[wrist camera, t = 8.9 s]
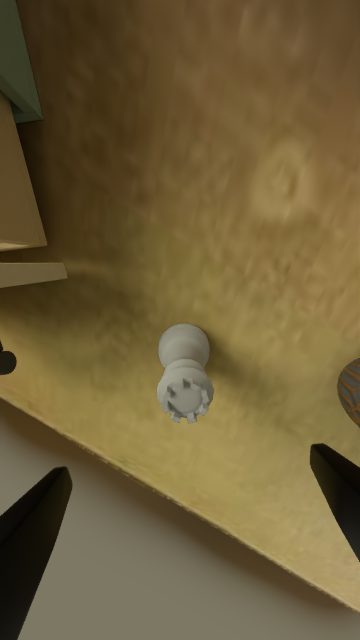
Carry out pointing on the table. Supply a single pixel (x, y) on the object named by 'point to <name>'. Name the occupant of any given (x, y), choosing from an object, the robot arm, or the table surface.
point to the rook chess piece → (184, 373)
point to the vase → (350, 390)
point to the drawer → (18, 218)
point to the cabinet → (16, 66)
